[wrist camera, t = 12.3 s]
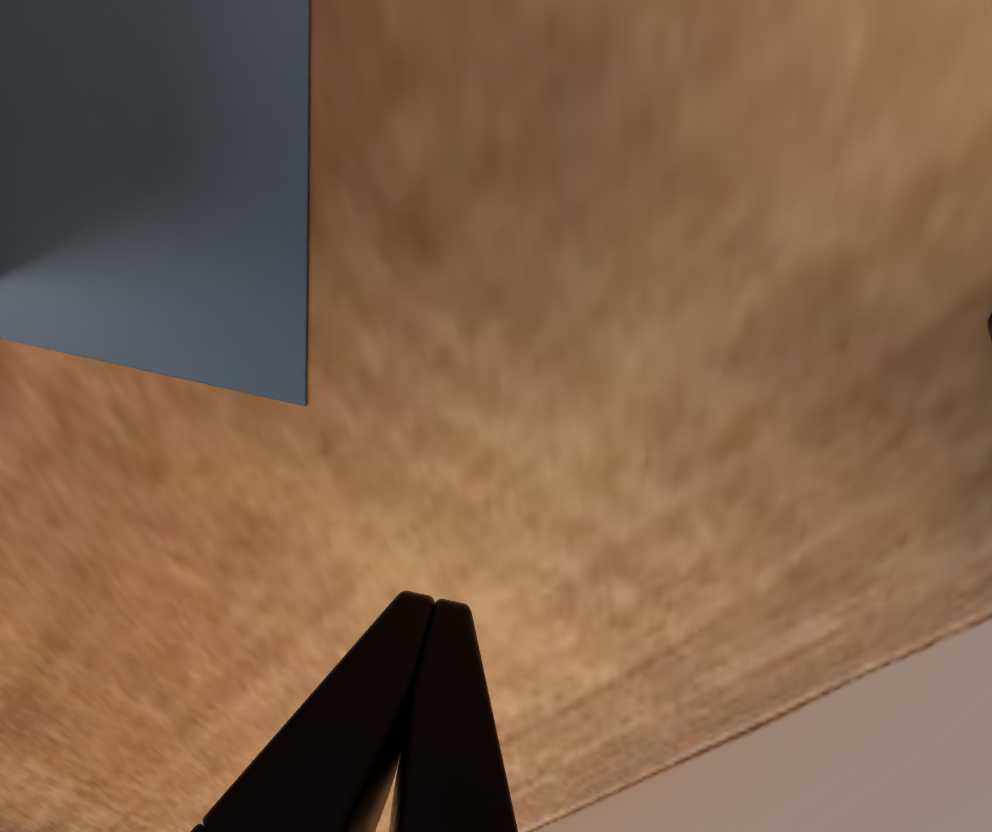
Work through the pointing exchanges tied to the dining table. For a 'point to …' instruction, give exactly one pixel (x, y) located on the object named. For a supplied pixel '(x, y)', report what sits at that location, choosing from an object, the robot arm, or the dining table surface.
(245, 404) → the dining table surface
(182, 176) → the mat
